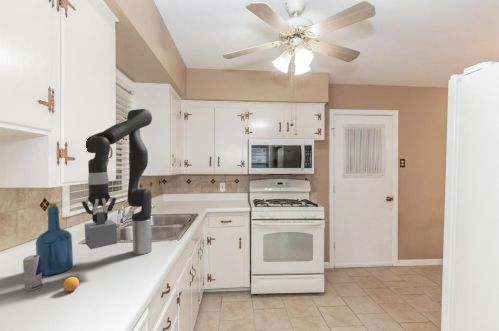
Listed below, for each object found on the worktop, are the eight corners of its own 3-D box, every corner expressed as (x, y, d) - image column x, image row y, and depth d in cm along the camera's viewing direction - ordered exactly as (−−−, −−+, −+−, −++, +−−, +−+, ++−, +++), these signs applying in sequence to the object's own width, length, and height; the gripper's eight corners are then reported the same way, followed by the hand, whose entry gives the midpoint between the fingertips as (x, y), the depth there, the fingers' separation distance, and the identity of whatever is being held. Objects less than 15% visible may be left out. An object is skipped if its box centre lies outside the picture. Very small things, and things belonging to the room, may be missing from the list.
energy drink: (45, 284, 106) (44, 254, 106) (35, 291, 101) (33, 259, 100) (31, 284, 106) (30, 254, 106) (20, 291, 101) (19, 260, 100)
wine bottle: (44, 266, 124) (41, 202, 123) (77, 262, 128) (74, 200, 127) (30, 279, 111) (27, 207, 110) (67, 274, 115) (64, 205, 114)
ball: (62, 290, 101) (61, 277, 101) (77, 286, 104) (77, 273, 104) (64, 295, 97) (63, 282, 97) (80, 290, 100) (79, 277, 100)
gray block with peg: (85, 243, 118) (84, 212, 117) (110, 238, 124) (109, 208, 124) (90, 249, 110) (89, 216, 109) (117, 243, 117) (115, 212, 116)
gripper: (113, 180, 123) (115, 217, 124) (77, 183, 114) (79, 223, 115) (118, 182, 118) (120, 220, 119) (81, 185, 108) (83, 226, 109)
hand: (100, 221), depth 117 cm, fingers closed on gray block with peg, 3 cm apart
